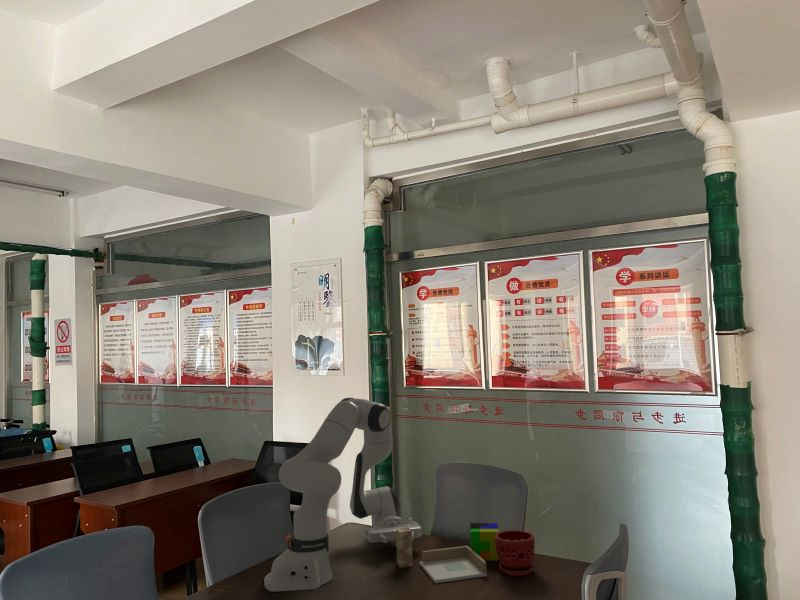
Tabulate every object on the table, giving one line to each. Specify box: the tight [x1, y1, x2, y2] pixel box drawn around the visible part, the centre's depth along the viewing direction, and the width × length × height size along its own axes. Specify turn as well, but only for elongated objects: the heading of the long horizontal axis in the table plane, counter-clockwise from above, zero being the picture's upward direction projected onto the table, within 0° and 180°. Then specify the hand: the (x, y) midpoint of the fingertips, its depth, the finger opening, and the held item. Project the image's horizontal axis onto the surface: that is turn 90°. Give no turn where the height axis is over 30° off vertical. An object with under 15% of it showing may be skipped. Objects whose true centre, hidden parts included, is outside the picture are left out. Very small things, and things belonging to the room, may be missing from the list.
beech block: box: [395, 527, 414, 568], centre depth 216 cm, size 4×4×12 cm
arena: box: [419, 545, 488, 584], centre depth 209 cm, size 18×17×4 cm
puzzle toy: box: [469, 522, 500, 561], centre depth 223 cm, size 10×10×10 cm
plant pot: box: [495, 529, 535, 577], centre depth 207 cm, size 13×13×12 cm
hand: (399, 539), depth 221 cm, fingers open, 8 cm apart
